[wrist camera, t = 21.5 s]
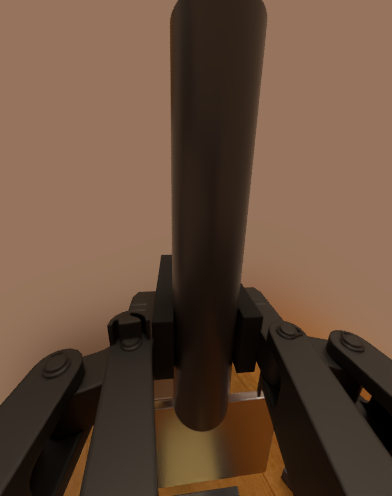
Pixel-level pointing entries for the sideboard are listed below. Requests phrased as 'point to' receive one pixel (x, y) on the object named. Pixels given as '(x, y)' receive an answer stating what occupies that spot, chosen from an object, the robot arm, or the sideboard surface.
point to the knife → (211, 241)
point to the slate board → (216, 492)
